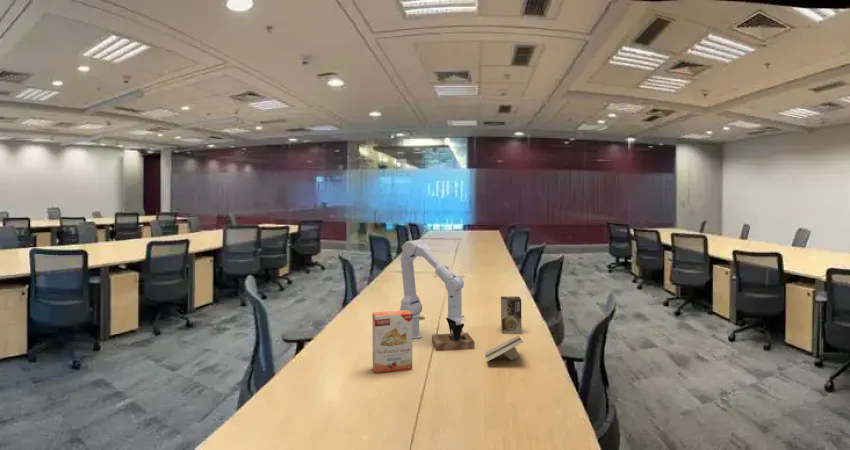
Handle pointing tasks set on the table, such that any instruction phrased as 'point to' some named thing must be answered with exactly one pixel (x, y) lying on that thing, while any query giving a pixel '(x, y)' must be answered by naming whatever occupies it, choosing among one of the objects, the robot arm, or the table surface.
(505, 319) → the coffee box
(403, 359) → the cracker box
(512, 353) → the grey slanted stand
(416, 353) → the table surface
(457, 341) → the well block
